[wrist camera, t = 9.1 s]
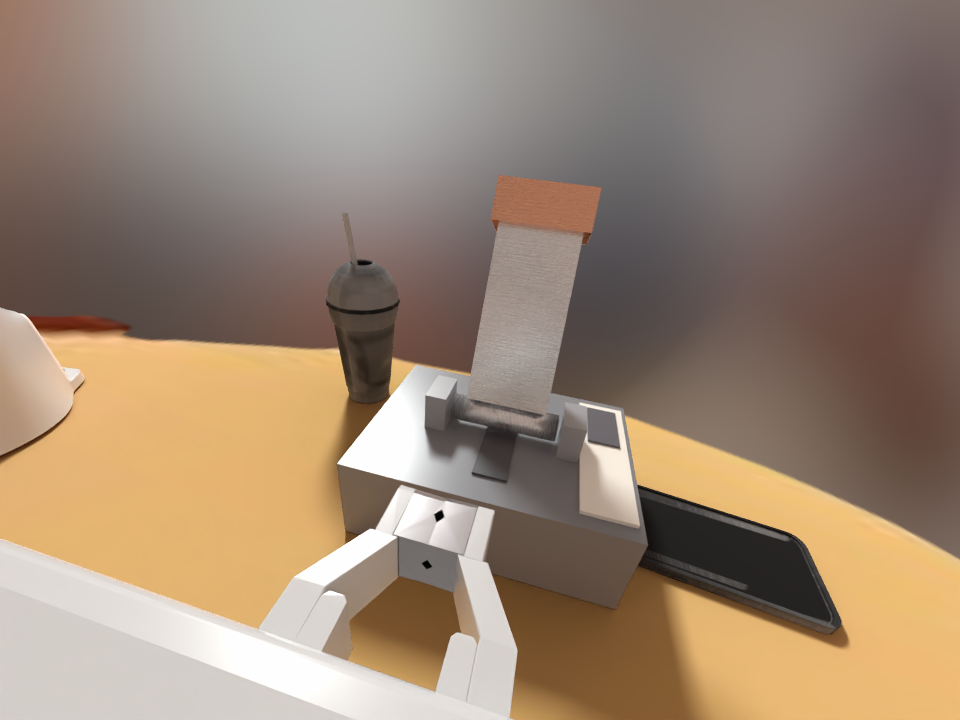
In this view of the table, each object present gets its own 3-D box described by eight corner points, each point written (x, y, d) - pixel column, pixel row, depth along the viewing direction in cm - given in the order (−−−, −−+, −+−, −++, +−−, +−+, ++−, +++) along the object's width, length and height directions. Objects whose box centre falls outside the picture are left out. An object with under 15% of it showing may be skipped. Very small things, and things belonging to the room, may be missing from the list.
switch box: (345, 530, 28) (332, 428, 23) (415, 420, 40) (416, 337, 35) (615, 609, 25) (665, 510, 20) (603, 464, 37) (633, 380, 32)
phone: (617, 478, 35) (802, 536, 31) (614, 486, 35) (795, 544, 31) (614, 550, 28) (849, 636, 24) (610, 560, 29) (839, 644, 25)
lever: (447, 422, 28) (491, 174, 26) (457, 413, 31) (497, 191, 29) (554, 447, 26) (609, 188, 25) (553, 435, 29) (601, 205, 28)
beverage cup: (409, 402, 43) (410, 221, 33) (344, 417, 39) (323, 220, 30) (389, 371, 48) (385, 207, 38) (330, 382, 45) (309, 205, 35)
